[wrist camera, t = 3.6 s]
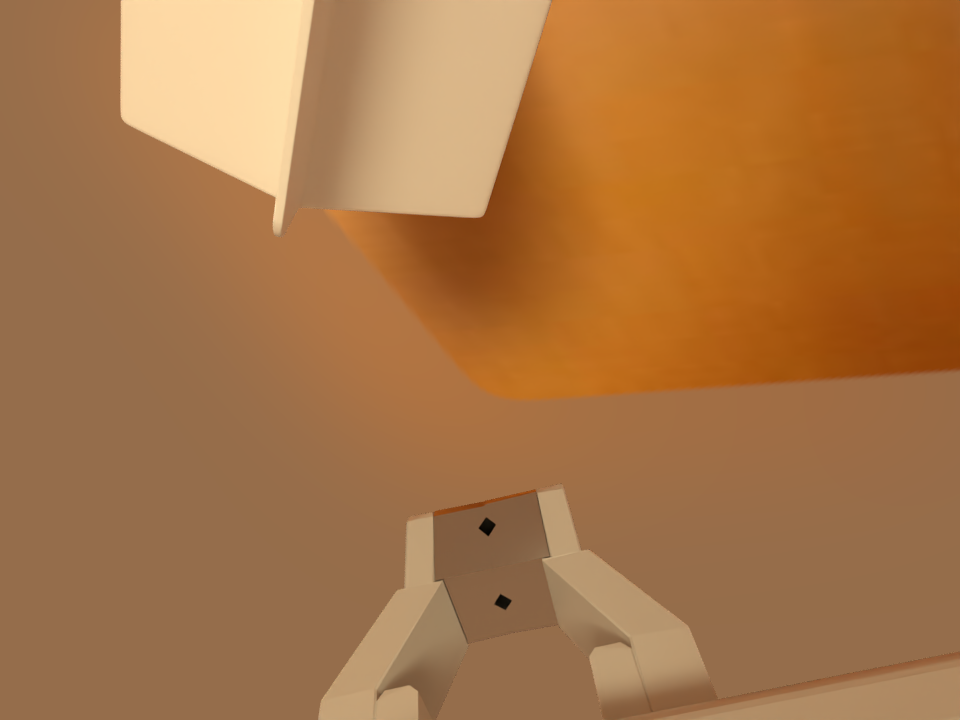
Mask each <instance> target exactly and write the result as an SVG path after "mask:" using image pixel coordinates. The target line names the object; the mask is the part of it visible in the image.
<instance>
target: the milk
mask: <svg viewBox="0 0 960 720" xmlns="http://www.w3.org/2000/svg"><path fill="white" fill-rule="evenodd" d="M551 3H552V0H121V118H122V119H123V121H124V122H125V123H126V124H128V125H130V126H132V127H133V128H135V129H137V130H139V131H142V132H143V133H145V134H147V135H149V136H152V137H153V138H156V139H158V140H159V141H162V142H164V143H166V144H168V145H170V146H172V147H174V148H176V149H178V150H180V151H182V152H184V153H186V154H188V155H190V156H192V157H194V158H196V159H198V160H200V161H203V162H204V163H206V164H208V165H210V166H212V167H214V168H216V169H218V170H221V171H222V172H225V173H227V174H229V175H231V176H233V177H235V178H237V179H239V180H241V181H243V182H245V183H247V184H249V185H251V186H253V187H255V188H257V189H259V190H261V191H263V192H265V193H267V194H269V195H271V196H273V197H275V198H276V202H275V210H274V217H273V231H274V234H275V236H278V237H283V236H284V235H285V233H286V231H287V229H288V227H289V225H290V224H291V222H292V220H293V218H294V216H295V214H296V213H297V211H298V210H299V209H300V208H314V209H331V210H347V211H364V212H380V213H397V214H414V215H430V216H447V217H463V218H480V217H482V216H484V214H485V212H486V209H487V206H488V203H489V200H490V197H491V194H492V190H493V187H494V184H495V181H496V178H497V174H498V171H499V168H500V165H501V162H502V159H503V155H504V152H505V149H506V146H507V143H508V139H509V136H510V133H511V130H512V127H513V124H514V120H515V117H516V114H517V111H518V108H519V104H520V101H521V98H522V95H523V92H524V89H525V85H526V82H527V79H528V76H529V73H530V69H531V66H532V63H533V60H534V57H535V54H536V50H537V47H538V44H539V41H540V38H541V34H542V31H543V28H544V25H545V22H546V19H547V15H548V12H549V9H550V6H551Z"/></svg>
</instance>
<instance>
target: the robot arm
mask: <svg viewBox="0 0 960 720" xmlns="http://www.w3.org/2000/svg"><path fill="white" fill-rule="evenodd" d="M536 491H537V493H536ZM537 496H538V497H537ZM539 505H540V506H539ZM555 625H559V628H560V629H561V630H562V631H563V632H564V633H565V634H566V635H567V636H568V637H569V638H570V640H571V641H572V642H573V643H574V644H575V645H576V646H577V647H578V648H579V649H580V650H581V652H582V653H583V654H584V655H585V656H586V657H587V658H588V659H589V660H590V662H591V667H592V672H593V676H594V681H595V686H596V690H597V695H598V700H599V705H600V709H601V714H602V719H603V720H960V651H959V652H954V653H949V654H944V655H939V656H934V657H929V658H923V659H918V660H913V661H908V662H903V663H898V664H893V665H889V666H884V667H878V668H873V669H868V670H863V671H858V672H853V673H848V674H843V675H838V676H833V677H828V678H823V679H818V680H813V681H807V682H802V683H798V684H792V685H787V686H782V687H777V688H772V689H767V690H762V691H757V692H752V693H747V694H742V695H737V696H732V697H727V698H722V699H718V698H717V695H716V693H715V690H714V688H713V685H712V683H711V680H710V678H709V676H708V673H707V671H706V668H705V666H704V663H703V661H702V659H701V656H700V653H699V651H698V649H697V646H696V644H695V641H694V639H693V636H692V634H691V631H690V629H689V627H688V626H687V625H686V624H685V623H683V622H682V621H681V620H679V619H678V618H677V617H676V616H674V615H673V614H672V613H671V612H669V611H668V610H667V609H665V608H664V607H663V606H662V605H660V604H659V603H658V602H656V601H655V600H654V599H653V598H651V597H650V596H649V595H647V594H646V593H645V592H644V591H642V590H641V589H640V588H639V587H637V586H636V585H635V584H633V583H632V582H631V581H630V580H628V579H627V578H626V577H624V576H623V575H622V574H621V573H619V572H618V571H617V570H615V569H614V568H613V567H612V566H610V565H609V564H608V563H607V562H605V561H604V560H603V559H601V558H600V557H599V556H598V555H596V554H595V553H593V551H591V550H590V549H588V550H581V547H580V543H579V540H578V536H577V532H576V529H575V525H574V521H573V518H572V514H571V510H570V507H569V503H568V499H567V496H566V492H565V488H564V486H563V485H562V484H556V485H553V486H548V487H544V488H539V489H537V490H531V491H526V492H522V493H518V494H513V495H509V496H504V497H500V498H496V499H491V500H487V501H484V502H479V503H474V504H469V505H464V506H459V507H453V508H448V509H443V510H438V511H435V512H430V513H425V514H420V515H415V516H410V517H409V518H408V521H407V523H406V554H405V583H404V589H400V590H397V591H396V592H395V593H394V595H393V597H392V598H391V600H390V601H389V602H388V604H387V605H386V607H385V608H384V610H383V611H382V612H381V614H380V616H379V617H378V618H377V620H376V621H375V623H374V624H373V626H372V627H371V629H370V630H369V632H368V633H367V634H366V636H365V637H364V639H363V640H362V642H361V643H360V645H359V646H358V647H357V649H356V651H355V652H354V653H353V655H352V656H351V658H350V659H349V661H348V662H347V664H346V665H345V667H344V668H343V670H342V671H341V672H340V674H339V675H338V677H337V678H336V680H335V681H334V683H333V684H332V686H331V687H330V688H329V690H328V691H327V693H326V694H325V696H324V697H323V699H322V700H321V705H320V711H319V719H318V720H436V718H437V716H438V714H439V712H440V709H441V707H442V705H443V702H444V701H445V698H446V696H447V694H448V691H449V689H450V687H451V685H452V683H453V680H454V678H455V676H456V673H457V671H458V669H459V667H460V664H461V662H462V660H463V658H464V655H465V653H466V651H467V649H468V643H472V642H476V641H481V640H485V639H489V638H493V637H498V636H502V635H506V634H510V633H515V632H521V631H526V630H532V629H538V628H543V627H549V626H555Z"/></svg>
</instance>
